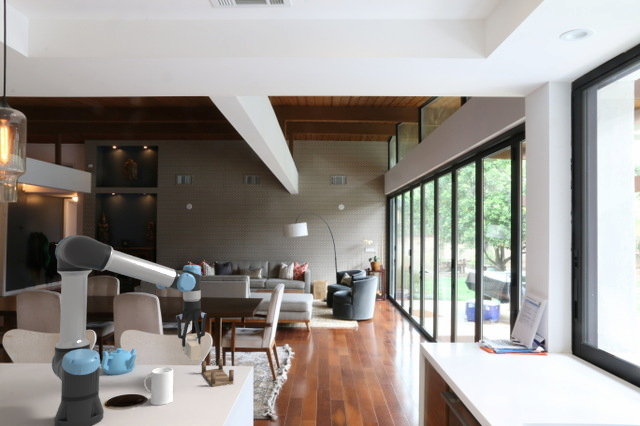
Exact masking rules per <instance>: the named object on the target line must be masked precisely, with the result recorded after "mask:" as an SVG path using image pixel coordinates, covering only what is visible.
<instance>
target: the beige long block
mask: <svg viewBox="0 0 640 426" xmlns="http://www.w3.org/2000/svg"><path fill="white" fill-rule="evenodd" d="M186 339H187V355H186V357H187V358H188V359H189V361H191V362H193V361H200V360H201V344H199V343H198V342H197V341H196V340H195V337H193V336H192V335H186ZM182 351H183V352H184V347H183V346H182Z"/></svg>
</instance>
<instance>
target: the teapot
mask: <svg viewBox="0 0 640 426" xmlns="http://www.w3.org/2000/svg"><path fill="white" fill-rule="evenodd" d="M136 352H137V348H132V349H131V351H129V350H127V349H125V350H124V348H122V347H119V348H116V349H115V350H114V351H110V352H108V351H107V350H104V351H102V355H103V357H102V360H101V362H100V368H101V369H102V370H103V371H102V372H104V373H105V374H106V375H110V376H112V375H113V376H117V375H118V376H119V375H123V374H124V375H125V374H128V373H130V372H132V371H133V369H134V368H135V366H136V364H135V363H136V362H135V361H136V357H137V355H136Z"/></svg>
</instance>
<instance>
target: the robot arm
mask: <svg viewBox="0 0 640 426" xmlns="http://www.w3.org/2000/svg"><path fill="white" fill-rule="evenodd" d="M54 254H55V258H56V259H57V268H56V269H57V271H56V272H57V273H58V274H59V275H60V276H61V285H60V286H61V288H60V289H61V293H60V319H59V320H60V321H59V322H60V323H59V324H60V325H59V341H58V342H57V343H56V344H55V345H54V355H53V358H52V360H51V369H52V371H53V373H54V375H55V376H56V377H58V379H59V380H60V381H61V392H60V393H61V397H60V398H61V399H60V402H59V406H58V408H57V411H56V413H55V417H54V422H53V423H54V424H53V425H54V426H94V425H96V424H97V423H100V422H101V421H102V420H103V418H104V417H105V416H104V414H105V412H104V407H103V405H102V402H101V398H100V396H99V395H100V394H99V393H100V391H99V390H100V370H101V369H100V368H101V367H100V366H101V359H100V354H99V352H98V351H97V350H95V349H91V341H90V340H89V339H87V338H86V337H87V336H86V335H87V305H88V304H87V303H88V299H87V298H88V275H89V274H91V272H92V271H93V270H96V271H99V272H103V271H106V270H107V271H110V272H113V273H117V274H120V275H124V276H127V277H131V278H134V279H136V280H137V279H138V280H141V281H144V282H148V283H150V284H151V283H152V284H155V286H156V288H157V289H159V290H167V289H169V290H175V291H178V292H182V293H183V294H182V300H183V301H182V312H181V313H180V314H177V315H175V319H176V321H177V323H176V324H177V338H178V339H181V346H182V348H183V347H184V351H183V352H184V353H183V354H184V355H186V356H187V339H186V336H187V333H188V329H189V325H190V322H193V323H194V327H195V334H196V336H195V337H194V339H195V340H196V341H197V342H198V343H199V344H200V345H201V342H202V341H201V338H202V337H204V336H205V335H206V320H207V316H208V314H207V313H205V312H203V311H202V309H201V306H202V305H201V299H202V297H201V295H202V292H201V290H202V289H201V288H202V287H201V285H202V282H201V281H202V270H201V269H202V268H201V266H200V265H198V264H187V265H184V266H183V268H182V269H181V270H177V269H174V268H170V267H168V266H164V265H162V264H158V263H155V262H153V261H149V260H146V259H143V258H140V257H137V256H133V255H130V254H127V253H124V252H121V251H118V250H114V248H113V247H112V245H109V244H106V243H103V242H101V241H98V240H97V239H94V238H92V237H89V236H87V235H74V234H73V235H69V236H66V237H64V238H63V239H61V240H60V241H59V242H58V244H56V248H55V252H54ZM200 317H201V328H200V325H199V318H200ZM183 318H184V326H183V330H182V319H183ZM200 329H201V330H200Z"/></svg>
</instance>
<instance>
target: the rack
mask: <svg viewBox="0 0 640 426" xmlns="http://www.w3.org/2000/svg"><path fill="white" fill-rule="evenodd" d="M223 368H224V359H222V358H221V359H218V368H213V369H207V361H206V360H204V361H203V360H202V361H201V374H202V375H203V376H204V378H207V379H206V380H207V381H208V383H209V384H210V386H212V388H213V387H220V386H221V385H222V386H228V385H227V384H229V385H233V384H234V377H235V376H234V375H235V374H234V369H229V370H228V374H227V373H226V372H225V371H224V370H223Z"/></svg>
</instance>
